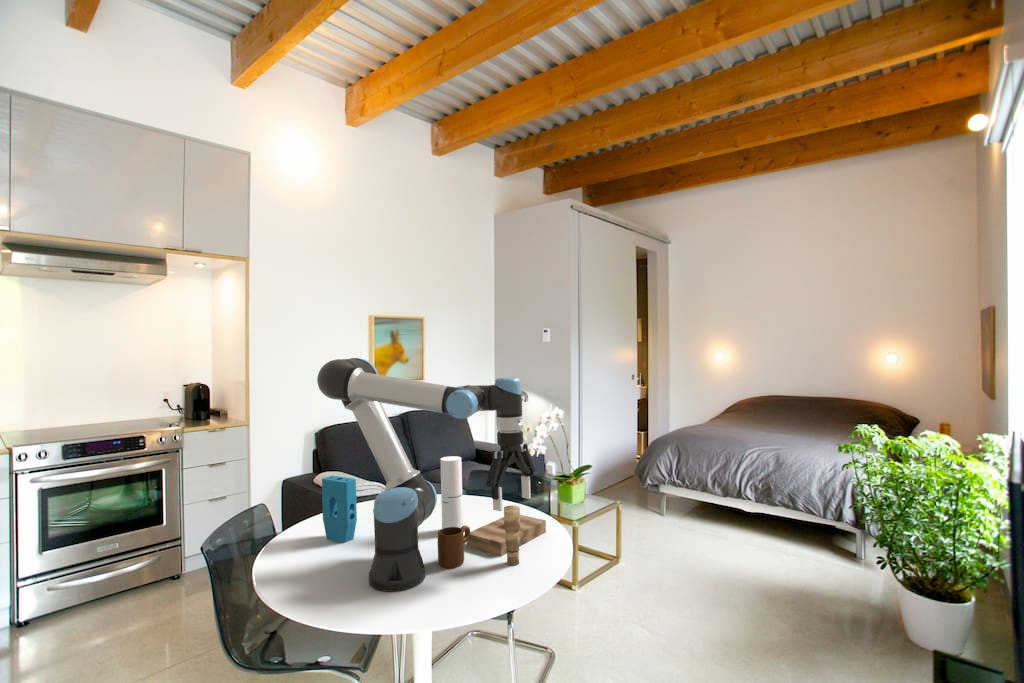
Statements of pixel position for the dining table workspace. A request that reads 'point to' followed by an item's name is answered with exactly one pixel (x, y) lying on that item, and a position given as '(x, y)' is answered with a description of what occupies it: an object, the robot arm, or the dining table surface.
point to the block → (339, 508)
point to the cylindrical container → (451, 492)
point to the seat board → (504, 534)
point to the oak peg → (512, 533)
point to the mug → (452, 546)
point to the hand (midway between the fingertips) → (512, 504)
